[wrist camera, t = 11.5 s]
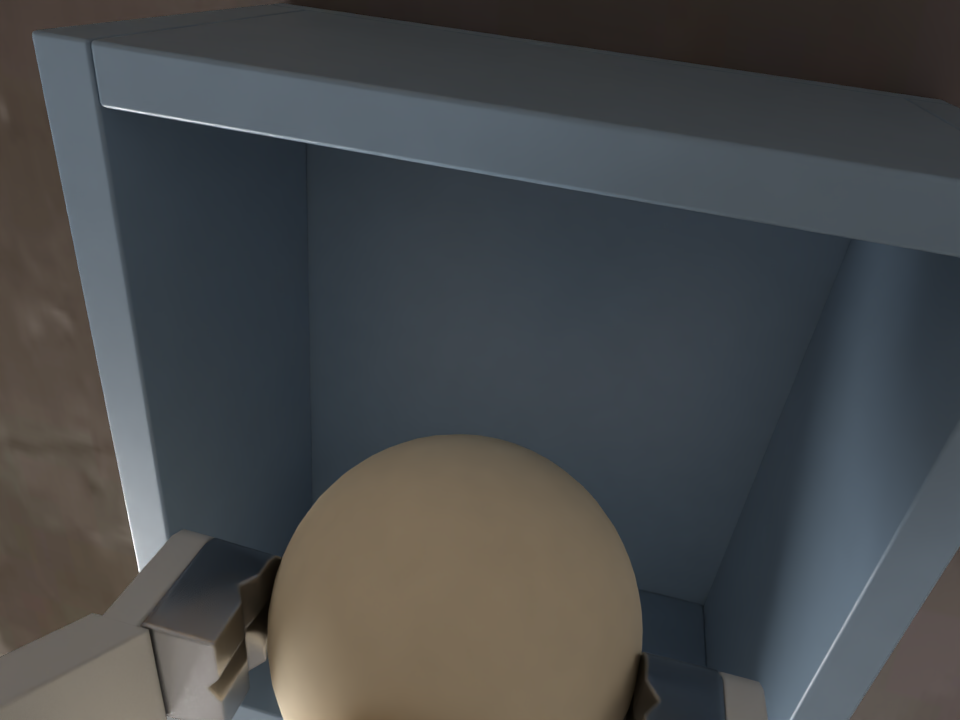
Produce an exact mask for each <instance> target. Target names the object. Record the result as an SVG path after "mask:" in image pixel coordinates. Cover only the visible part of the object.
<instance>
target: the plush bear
mask: <svg viewBox="0 0 960 720" xmlns="http://www.w3.org/2000/svg"><path fill="white" fill-rule="evenodd" d="M642 634H643V629H642V610H641V603H640V597H639V591H638V587H637V582H636V578H635V574H634V571H633V568H632V565H631V562H630V559H629V556H628V554H627V552H626V549H625V547H624V544H623V542H622V540H621V538H620V536H619V534H618V532H617V531H616V529H615V527H614V525H613V524H612V522H611V521H610V519H609V518H608V517H607V515H606V514H605V512H604V511H603V509H602V508H601V507H600V505H599V504H598V502H597V501H596V500H595V499H594V498H593V496H592V495H591V494H590V493H589V492H588V491H587V490H586V489H585V488H584V487H583V486H582V485H581V484H580V483H579V482H577V481H576V480H575V479H574V478H573V477H572V476H570V475H569V474H568V473H567V472H566V471H564V470H563V469H562V468H560V467H559V466H557V465H556V464H554V463H553V462H552V461H550V460H549V459H547V458H545V457H543V456H541V455H539V454H537V453H536V452H534V451H532V450H529V449H527V448H525V447H522V446H520V445H517V444H515V443H511V442H508V441H504V440H501V439H497V438H492V437H486V436H480V435H468V434H452V435H434V436H428V437H422V438H417V439H414V440H410V441H407V442H404V443H401V444H398V445H395V446H392V447H389V448H387V449H385V450H383V451H381V452H378V453H376V454H374V455H372V456H371V457H369V458H367V459H366V460H364V461H362V462H361V463H359V464H358V465H356V466H355V467H353V468H352V469H350V470H349V471H347V472H346V473H345V474H343V475H342V476H341V477H340V478H339V479H338V480H337V481H336V482H335V483H334V484H332V485H331V486H330V487H329V488H328V489H327V490H326V491H325V492H324V493H323V494H322V495H321V496H320V497H319V498H318V500H317V501H316V502H315V503H314V505H313V506H312V507H311V509H310V510H309V511H308V513H307V514H306V515H305V517H304V518H303V520H302V521H301V522H300V524H299V525H298V527H297V529H296V531H295V533H294V534H293V536H292V538H291V540H290V542H289V544H288V546H287V548H286V550H285V553H284V555H283V557H282V560H281V563H280V566H279V568H278V571H277V574H276V577H275V581H274V586H273V590H272V595H271V600H270V606H269V611H268V635H267V652H268V660H269V667H270V674H271V680H272V686H273V689H274V692H275V696H276V699H277V702H278V705H279V708H280V711H281V714H282V717H283V719H284V720H623V719H624V717H625V715H626V713H627V711H628V709H629V707H630V703H631V700H632V696H633V693H634V687H635V684H636V679H637V673H638V668H639V662H640V655H641V653H642Z"/></svg>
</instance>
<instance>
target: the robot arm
mask: <svg viewBox="0 0 960 720" xmlns="http://www.w3.org/2000/svg"><path fill="white" fill-rule="evenodd" d="M281 560H282V557H279V556H276V555H273V554H269V553H266V552H262V551H259V550H256V549H252V548H249V547H245V546H242V545H239V544H235V543H232V542H229V541H225V540H222V539H218V538H215V537H211V536H207V535H204V534H200V533H197V532H193V531H189V530H186V529H182V530H181V531H179V532H177V533H176V534H174V535H172V536H171V537H170V538H169V539H168V541H167V542H166V543H165V544H164V545H163V546H162V548H161V549H160V550H159V551H158V552H157V553H156V554H155V556H154V557H153V558H152V559H151V560H150V561H149V562H148V564H147V565H146V566H145V567H144V568H143V569H142V571H141V572H140V573H139V574H138V575H137V576H136V577H135V579H134V580H133V581H132V582H131V583H130V584H129V586H128V587H127V588H126V589H125V590H124V591H123V592H122V594H121V595H120V596H119V597H118V598H117V599H116V601H115V602H114V603H113V604H112V605H111V606H110V607H109V609H108V610H107V611H106V612H105V613H104V614H103V616H102V615H98V614H94V613H92V614H90V615H88V616H86V617H83V618H81V619H79V620H77V621H75V622H73V623H71V624H69V625H66V626H64V627H62V628H60V629H58V630H56V631H54V632H52V633H50V634H47V635H45V636H43V637H41V638H39V639H37V640H35V641H33V642H31V643H28V644H26V645H24V646H22V647H20V648H18V649H16V650H14V651H11V652H9V653H7V654H5V655H3V656H1V657H0V720H167V717H166V716H169V717H172V718H176V719H180V720H232V719H233V717H234V715H235V714H236V712H237V710H238V708H239V707H240V705H241V703H242V702H243V700H244V698H245V696H246V695H247V693H248V691H249V689H250V682H249V670H251V669H253V668H255V667H256V666H258V665H260V664H261V663H263V662H265V661H266V660H267V658H268V652H267V635H268V611H269V606H270V600H271V595H272V590H273V586H274V581H275V577H276V574H277V571H278V568H279V566H280V563H281ZM623 720H768V716H767V709H766V702H765V695H764V690H763V688H762V686H761V684H760V682H758V681H754V680H750V679H746V678H743V677H739V676H735V675H731V674H727V673H724V672H718V671H717V670H716V669H712V668H708V667H704V666H700V665H696V664H692V663H688V662H684V661H680V660H676V659H672V658H668V657H664V656H660V655H656V654H652V653H648V652H644V651H643V653H642V654H641V655H640V662H639V668H638V673H637V679H636V684H635V687H634V693H633V696H632V700H631V703H630V707H629V709H628V711H627V713H626V715H625V717H624V719H623Z"/></svg>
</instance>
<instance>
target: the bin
mask: <svg viewBox="0 0 960 720" xmlns="http://www.w3.org/2000/svg"><path fill="white" fill-rule="evenodd" d="M32 37H33V42H34V47H35V52H36V57H37V62H38V67H39V72H40V77H41V82H42V87H43V92H44V97H45V102H46V107H47V113H48V118H49V123H50V128H51V133H52V138H53V143H54V148H55V153H56V158H57V163H58V168H59V173H60V178H61V183H62V188H63V193H64V198H65V203H66V208H67V213H68V218H69V223H70V228H71V233H72V238H73V243H74V248H75V253H76V258H77V263H78V268H79V273H80V278H81V283H82V288H83V293H84V298H85V303H86V308H87V313H88V318H89V323H90V328H91V333H92V338H93V343H94V348H95V353H96V358H97V363H98V368H99V373H100V378H101V383H102V388H103V393H104V399H105V404H106V409H107V414H108V419H109V424H110V429H111V434H112V439H113V444H114V449H115V454H116V459H117V464H118V469H119V474H120V479H121V484H122V489H123V494H124V499H125V504H126V509H127V514H128V519H129V524H130V529H131V534H132V539H133V544H134V549H135V554H136V559H137V564H138V569H139V573H140V572H141V571H142V569H143V568H144V567H145V566H146V565H147V564H148V562H149V561H150V560H151V559H152V558H153V557H154V556H155V554H156V553H157V552H158V551H159V550H160V549H161V548H162V546H163V545H164V544H165V543H166V542H167V541H168V539H169V538H170V537H171V536H172V535H174V534H176V533H177V532H179V531H181V530H182V529H186V530H189V531H193V532H197V533H200V534H204V535H207V536H211V537H215V538H218V539H222V540H225V541H229V542H232V543H235V544H239V545H242V546H245V547H249V548H252V549H256V550H259V551H262V552H266V553H269V554H273V555H276V556H279V557H283V555H284V553H285V550H286V548H287V546H288V544H289V542H290V540H291V538H292V536H293V534H294V533H295V531H296V529H297V527H298V525H299V524H300V522H301V521H302V520H303V518H304V517H305V515H306V514H307V513H308V511H309V510H310V509H311V507H312V506H313V505H314V503H315V502H316V501H317V500H318V498H319V497H320V496H321V495H322V494H323V493H324V492H325V491H326V490H327V489H328V488H329V487H330V486H331V485H332V484H334V483H335V482H336V481H337V480H338V479H339V478H340V477H341V476H342V475H343V474H345V473H346V472H347V471H349V470H350V469H352V468H353V467H355V466H356V465H358V464H359V463H361V462H362V461H364V460H366V459H367V458H369V457H371V456H372V455H374V454H376V453H378V452H381V451H383V450H385V449H387V448H389V447H392V446H395V445H398V444H401V443H404V442H407V441H410V440H414V439H417V438H422V437H428V436H434V435H452V434H468V435H480V436H486V437H492V438H497V439H501V440H504V441H508V442H511V443H515V444H517V445H520V446H522V447H525V448H527V449H529V450H532V451H534V452H536V453H537V454H539V455H541V456H543V457H545V458H547V459H549V460H550V461H552V462H553V463H554V464H556V465H557V466H559V467H560V468H562V469H563V470H564V471H566V472H567V473H568V474H569V475H570V476H572V477H573V478H574V479H575V480H576V481H577V482H579V483H580V484H581V485H582V486H583V487H584V488H585V489H586V490H587V491H588V492H589V493H590V494H591V495H592V496H593V498H594V499H595V500H596V501H597V502H598V504H599V505H600V507H601V508H602V509H603V511H604V512H605V514H606V515H607V517H608V518H609V519H610V521H611V522H612V524H613V525H614V527H615V529H616V531H617V532H618V534H619V536H620V538H621V540H622V542H623V544H624V547H625V549H626V552H627V554H628V556H629V559H630V562H631V565H632V568H633V571H634V574H635V578H636V582H637V587H638V591H639V597H640V603H641V610H642V629H643V634H642V653H643V651H644V652H648V653H652V654H656V655H660V656H664V657H668V658H672V659H676V660H680V661H684V662H688V663H692V664H696V665H700V666H704V667H708V668H712V669H716V670H717V671H718V672H724V673H727V674H731V675H735V676H739V677H743V678H746V679H750V680H754V681H758V682H760V684H761V686H762V688H763V690H764V695H765V702H766V709H767V716H768V720H849V719H850V718H851V716H852V715H853V713H854V711H855V710H856V708H857V707H858V705H859V704H860V702H861V700H862V699H863V697H864V696H865V694H866V693H867V691H868V689H869V688H870V686H871V685H872V683H873V682H874V680H875V678H876V677H877V675H878V674H879V672H880V671H881V669H882V667H883V666H884V664H885V663H886V661H887V660H888V658H889V656H890V655H891V653H892V652H893V650H894V649H895V647H896V646H897V644H898V642H899V641H900V639H901V638H902V636H903V635H904V633H905V631H906V630H907V628H908V627H909V625H910V624H911V622H912V620H913V619H914V617H915V616H916V614H917V613H918V611H919V609H920V608H921V606H922V605H923V603H924V602H925V600H926V598H927V597H928V595H929V594H930V592H931V591H932V589H933V587H934V586H935V584H936V583H937V581H938V580H939V578H940V577H941V575H942V573H943V572H944V570H945V569H946V567H947V566H948V564H949V562H950V561H951V559H952V558H953V556H954V555H955V553H956V551H957V550H958V548H959V547H960V108H958V107H956V106H952V105H951V104H949V103H947V102H945V101H943V100H939V99H932V98H925V97H918V96H912V95H905V94H898V93H891V92H884V91H878V90H871V89H864V88H857V87H850V86H843V85H837V84H830V83H823V82H816V81H809V80H803V79H796V78H789V77H782V76H775V75H768V74H762V73H755V72H748V71H741V70H734V69H728V68H721V67H714V66H707V65H700V64H693V63H687V62H680V61H673V60H666V59H659V58H652V57H646V56H639V55H632V54H625V53H618V52H612V51H605V50H598V49H591V48H584V47H577V46H571V45H564V44H557V43H550V42H543V41H537V40H530V39H523V38H516V37H509V36H502V35H496V34H489V33H482V32H475V31H468V30H462V29H455V28H448V27H441V26H434V25H427V24H421V23H414V22H407V21H400V20H393V19H387V18H380V17H373V16H366V15H359V14H352V13H346V12H339V11H332V10H325V9H318V8H312V7H305V6H298V5H291V4H284V3H280V4H271V5H260V6H251V7H242V8H233V9H224V10H215V11H205V12H196V13H187V14H178V15H169V16H160V17H151V18H142V19H133V20H124V21H115V22H106V23H97V24H88V25H78V26H69V27H60V28H51V29H42V30H36V31H34V32H32ZM642 653H641V654H642ZM249 682H250V689H249V691H248V693H247V695H246V696H245V698H244V700H243V702H242V703H241V705H240V707H239V708H238V710H237V712H236V714H235V715H234V717H233V719H232V720H284V719H283V717H282V714H281V711H280V708H279V705H278V702H277V699H276V696H275V692H274V689H273V686H272V680H271V674H270V667H269V660H268V658H267V660H266V661H265V662H263V663H261V664H260V665H258V666H256V667H255V668H253V669H251V670H249Z"/></svg>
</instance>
